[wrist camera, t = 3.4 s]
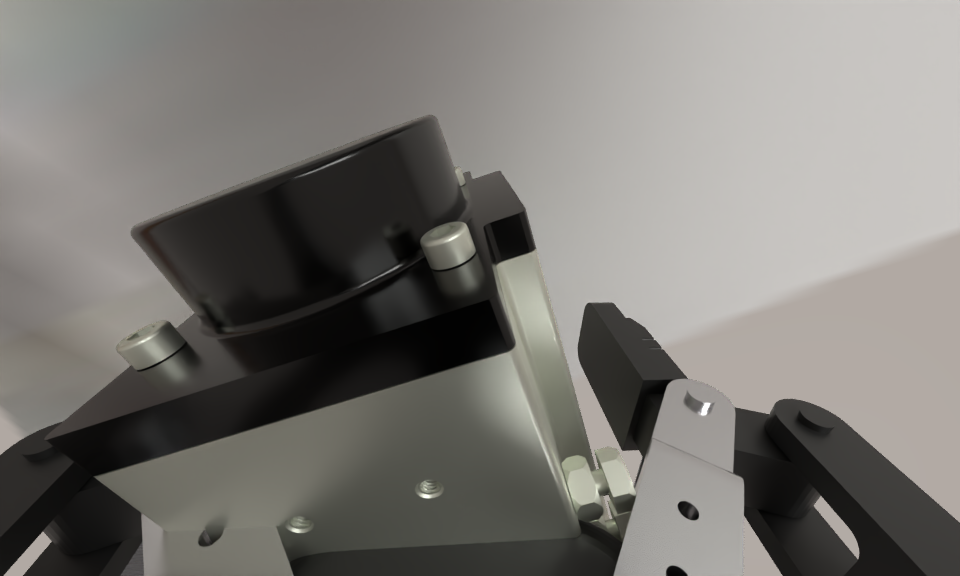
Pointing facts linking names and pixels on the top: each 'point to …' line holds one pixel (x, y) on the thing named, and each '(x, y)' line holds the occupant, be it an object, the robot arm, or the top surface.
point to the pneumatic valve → (352, 365)
